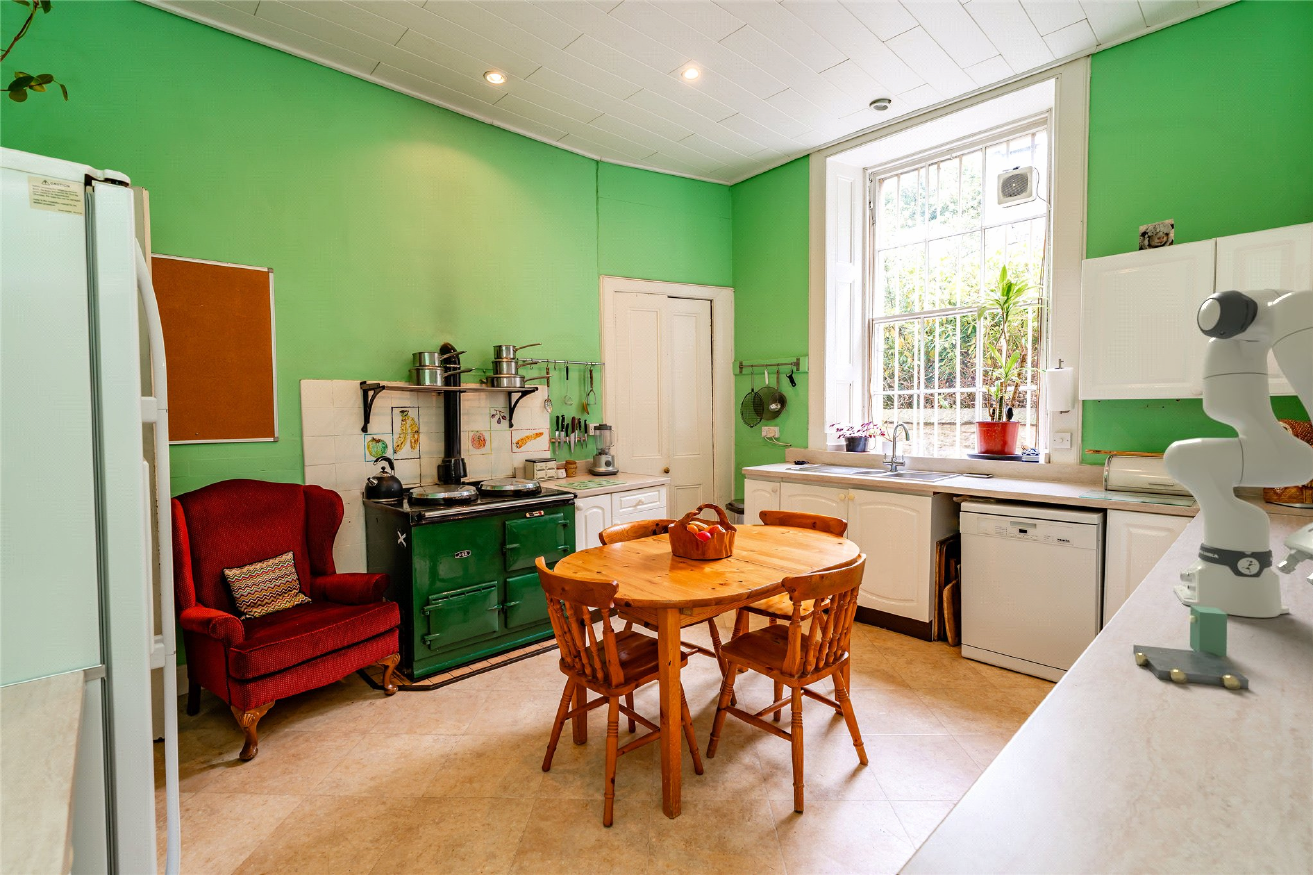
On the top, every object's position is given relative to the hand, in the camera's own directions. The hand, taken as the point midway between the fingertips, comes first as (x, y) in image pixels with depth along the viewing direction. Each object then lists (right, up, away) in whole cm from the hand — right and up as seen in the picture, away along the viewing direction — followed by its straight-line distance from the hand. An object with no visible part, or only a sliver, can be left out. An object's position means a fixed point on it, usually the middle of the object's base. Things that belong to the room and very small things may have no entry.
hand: (1295, 577), depth 111 cm
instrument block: (-11, -15, +5) cm, 20 cm away
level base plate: (-22, -16, -2) cm, 27 cm away
